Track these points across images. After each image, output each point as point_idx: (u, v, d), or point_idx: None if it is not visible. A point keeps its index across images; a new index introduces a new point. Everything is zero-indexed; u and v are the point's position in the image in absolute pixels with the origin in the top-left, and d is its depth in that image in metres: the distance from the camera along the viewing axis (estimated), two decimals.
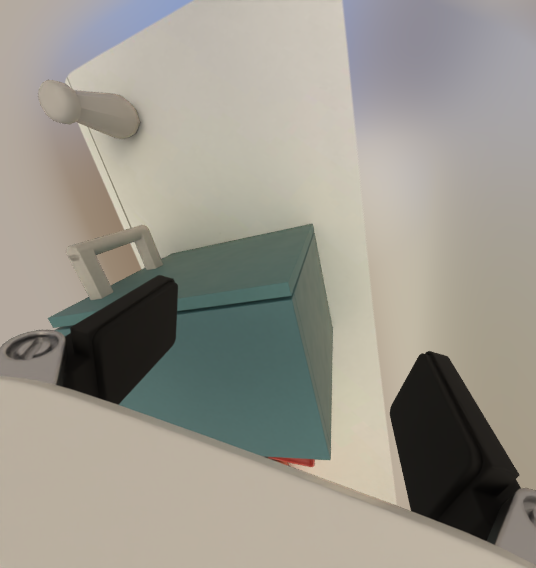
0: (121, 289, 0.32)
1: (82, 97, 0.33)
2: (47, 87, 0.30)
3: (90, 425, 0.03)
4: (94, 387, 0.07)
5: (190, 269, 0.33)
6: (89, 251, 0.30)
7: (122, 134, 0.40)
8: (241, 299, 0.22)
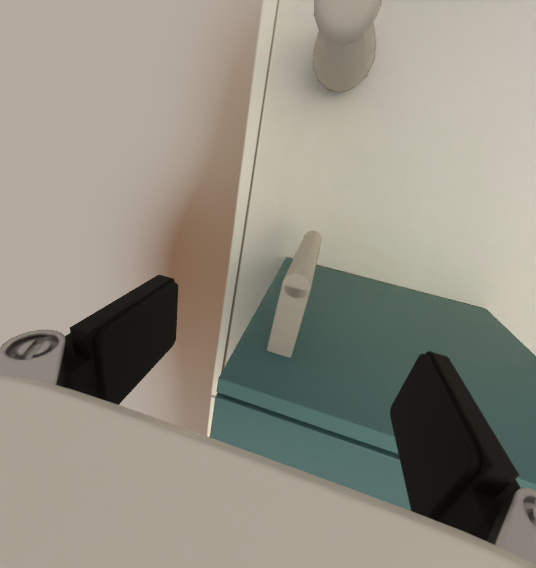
0: (303, 341, 0.21)
1: None
2: None
3: (90, 425, 0.03)
4: (94, 387, 0.07)
5: (396, 344, 0.23)
6: None
7: (341, 86, 0.26)
8: None
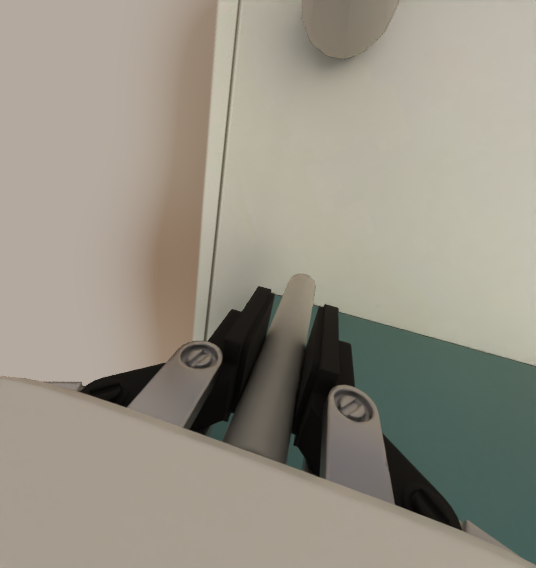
0: None
1: None
2: None
3: (90, 425, 0.03)
4: (232, 393, 0.08)
5: (446, 484, 0.13)
6: None
7: (346, 46, 0.16)
8: None
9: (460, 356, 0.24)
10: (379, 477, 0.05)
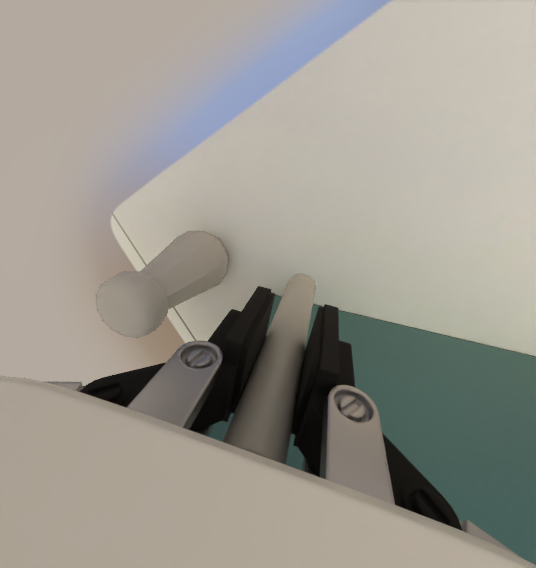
0: None
1: (164, 277, 0.18)
2: (112, 295, 0.16)
3: (90, 425, 0.03)
4: (232, 392, 0.08)
5: (454, 481, 0.13)
6: None
7: None
8: None
9: (466, 351, 0.23)
10: (379, 477, 0.05)
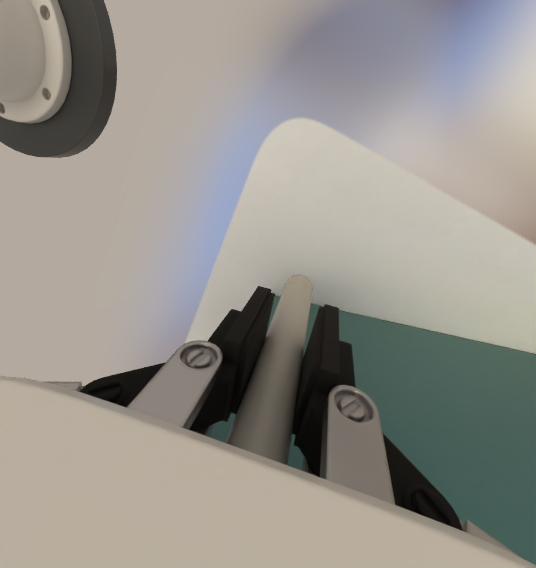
0: None
1: None
2: None
3: (90, 425, 0.03)
4: (232, 392, 0.08)
5: (451, 477, 0.13)
6: None
7: None
8: None
9: (462, 348, 0.24)
10: (379, 477, 0.05)
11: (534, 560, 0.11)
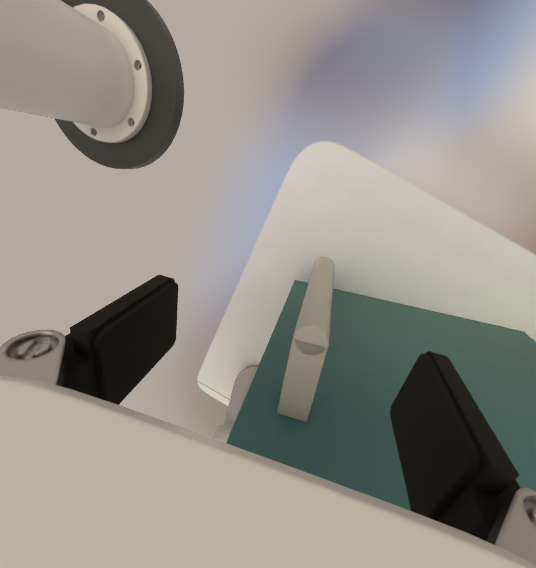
0: (319, 395, 0.17)
1: None
2: None
3: (90, 425, 0.03)
4: (94, 387, 0.07)
5: None
6: None
7: None
8: None
9: (451, 322, 0.29)
10: None
11: None
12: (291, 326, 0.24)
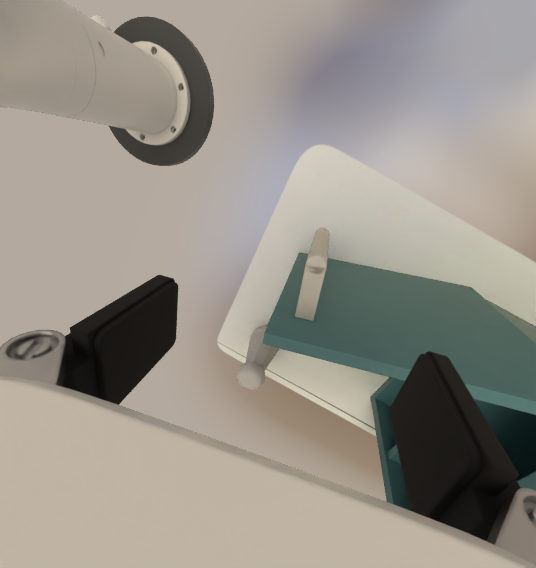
0: (320, 311, 0.27)
1: (255, 359, 0.43)
2: (243, 376, 0.40)
3: (90, 425, 0.03)
4: (94, 387, 0.07)
5: (393, 312, 0.29)
6: None
7: (277, 350, 0.48)
8: None
9: (417, 280, 0.39)
10: None
11: (420, 329, 0.26)
12: (299, 278, 0.34)
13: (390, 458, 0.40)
